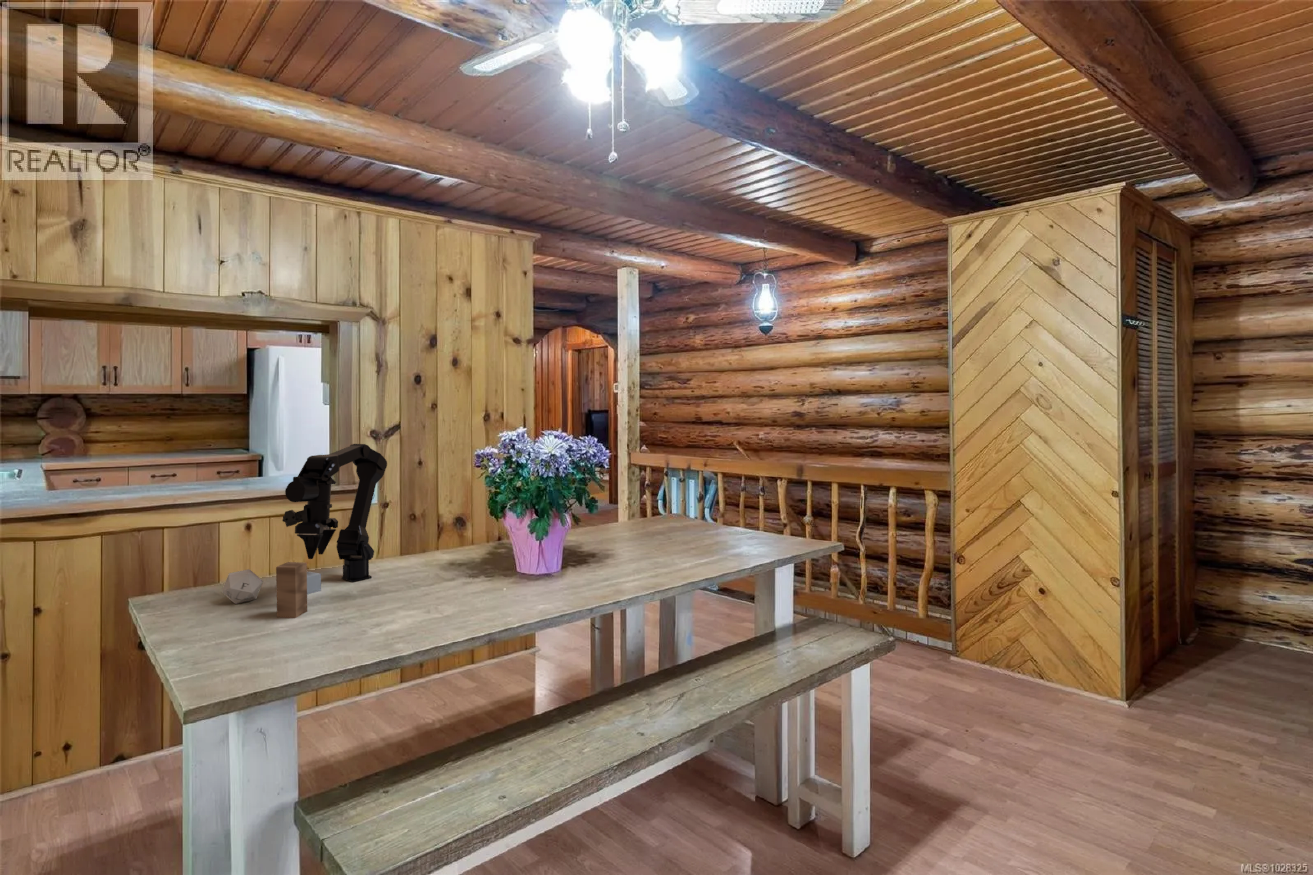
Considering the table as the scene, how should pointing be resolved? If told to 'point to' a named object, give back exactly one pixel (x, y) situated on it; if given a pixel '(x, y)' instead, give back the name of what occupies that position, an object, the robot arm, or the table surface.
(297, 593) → the walnut block
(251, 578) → the die
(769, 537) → the table surface
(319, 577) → the slate cube
